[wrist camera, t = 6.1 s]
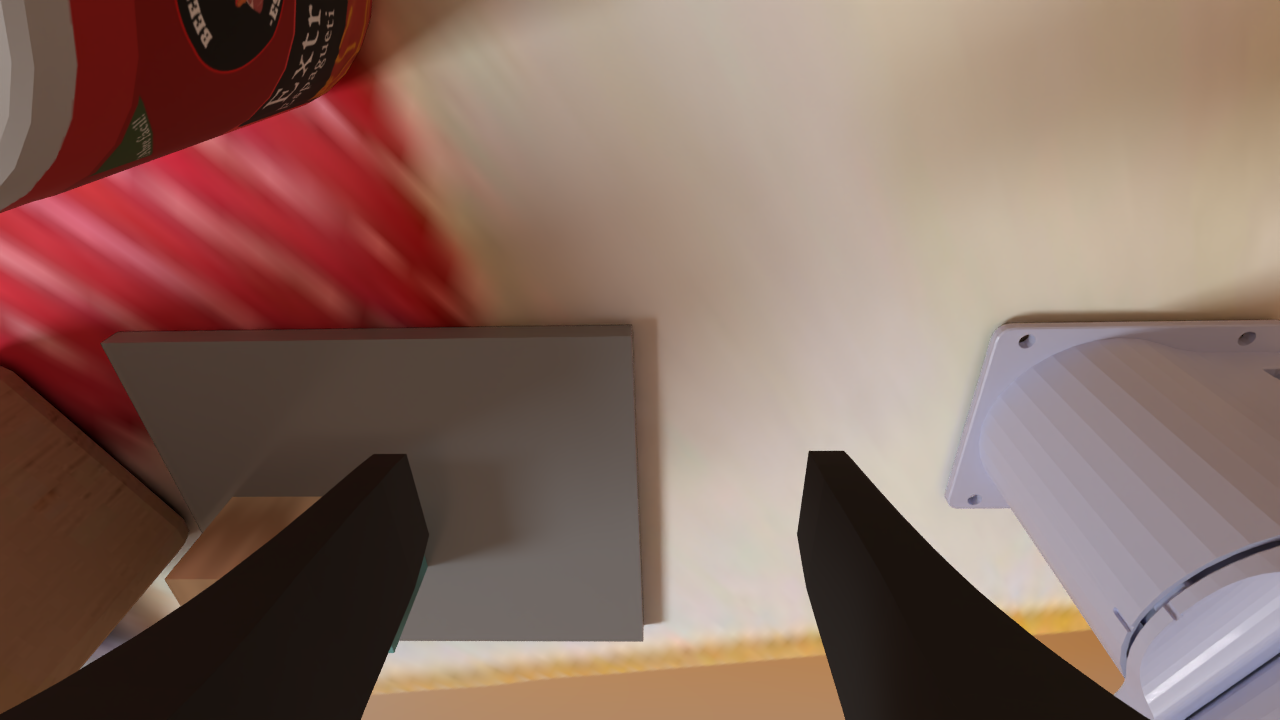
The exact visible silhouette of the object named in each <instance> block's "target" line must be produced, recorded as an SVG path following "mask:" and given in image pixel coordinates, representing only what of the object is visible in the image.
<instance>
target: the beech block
mask: <svg viewBox="0 0 1280 720" xmlns="http://www.w3.org/2000/svg"><path fill="white" fill-rule="evenodd" d="M320 498H321V497H232V498H231V499H230V500H229V502H228V503H227V504H226V505H225V507H224V508H223V509H222V510H221V511H220V513H219V514H218V515H217V516H216V517H215V519H214V520H213V521H212V522H211V524H210V525H209V526H208V527H207V528H206V530H205V531H204V532H203V533H202V534H201V536H200V537H199V538H198V539H197V540H196V542H195V543H194V544H193V545H192V547H191V548H190V549H189V550H188V551H187V553H186V554H185V555H184V556H183V557H182V559H181V560H180V561H179V562H178V564H177V565H176V566H175V567H174V568H173V570H172V571H171V572H170V573H169V574H168V576H167V577H166V578H165V581H166V583H167V584H168V586H169V588H170V589H171V591H172V592H173V594H174V596H175V597H176V599H177V601H178V602H179V604H180V605H181V606H182V605H184V604H185V603H187V602H188V601H189V600H191V599H192V598H194V597H195V596H196V595H198V594H199V593H201V592H202V591H204V590H205V589H206V588H208V587H209V586H211V585H212V584H213V583H215V582H216V581H217V580H219V579H220V578H221V577H223V576H224V575H225V574H227V573H228V572H229V571H231V570H232V569H233V568H234V567H236V566H237V565H238V564H240V563H241V562H242V561H243V560H245V559H246V558H247V557H249V556H250V555H251V554H252V553H254V552H255V551H256V550H258V549H259V548H260V547H262V546H263V545H264V544H265V543H267V542H268V541H269V540H271V539H272V538H273V537H274V536H276V535H277V534H278V533H279V532H281V531H282V530H283V529H284V528H285V527H287V526H288V525H289V524H290V523H291V522H293V521H294V520H295V519H296V518H297V517H299V516H300V515H301V514H302V513H303V512H305V511H306V510H307V509H308V508H309V507H311V506H312V505H313V504H314V503H315V502H317V501H318V500H319V499H320ZM427 568H428V565H427V562H426V558H425V555H424V558H423V562H422V565H421V569H420V572H419V576H418V579H417V583H416V586H415V589H414V592H413V594H412V597H411V599H410V602H409V604H408V607H407V609H406V612H405V614H404V616H403V619H402V621H401V624H400V626H399V629H398V631H397V633H396V636H395V638H394V641H393V643H392V645H391V648H390V650H389V652H388V653H394V652H395V649H396V647H397V644H398V642H399V639H400V637H401V634H402V632H403V629H404V626H405V624H406V621H407V619H408V616H409V614H410V611H411V609H412V606H413V603H414V601H415V598H416V596H417V593H418V591H419V588H420V586H421V583H422V581H423V578H424V575H425V573H426V570H427Z"/></svg>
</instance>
